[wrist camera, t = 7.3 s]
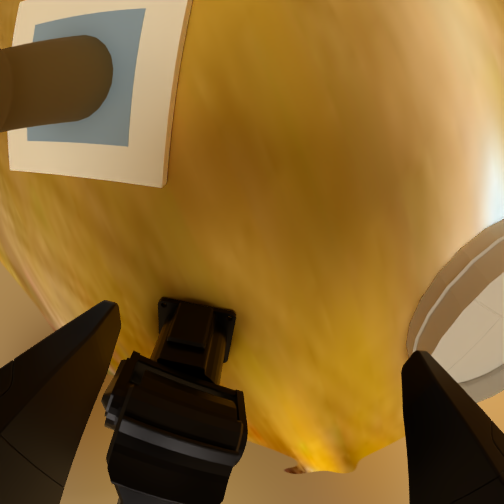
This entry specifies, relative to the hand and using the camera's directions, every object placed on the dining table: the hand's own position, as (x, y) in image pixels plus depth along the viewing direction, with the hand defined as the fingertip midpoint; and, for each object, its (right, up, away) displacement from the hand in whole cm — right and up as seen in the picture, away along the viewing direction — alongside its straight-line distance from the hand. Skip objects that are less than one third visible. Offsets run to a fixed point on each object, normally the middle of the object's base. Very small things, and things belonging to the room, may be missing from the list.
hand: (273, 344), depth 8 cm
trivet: (-12, +14, +7) cm, 20 cm away
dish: (+25, -3, +16) cm, 30 cm away
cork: (-12, +14, +7) cm, 19 cm away
